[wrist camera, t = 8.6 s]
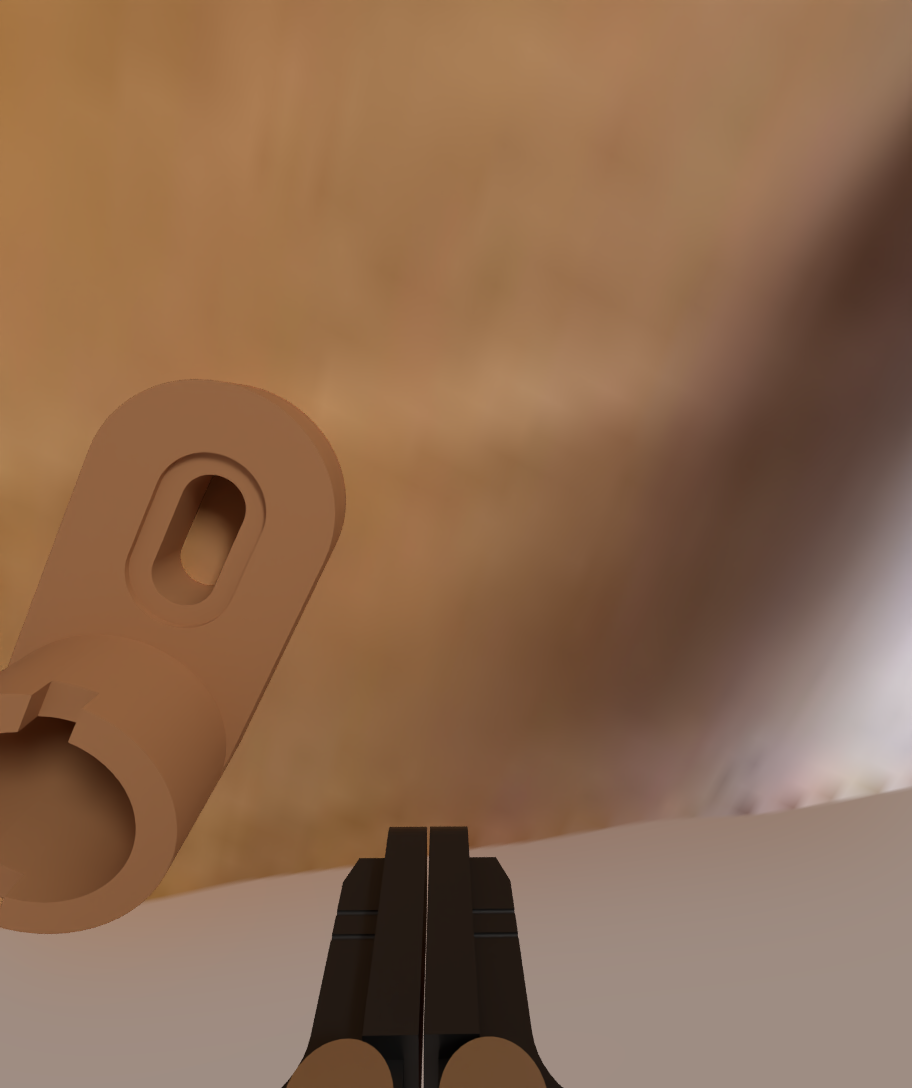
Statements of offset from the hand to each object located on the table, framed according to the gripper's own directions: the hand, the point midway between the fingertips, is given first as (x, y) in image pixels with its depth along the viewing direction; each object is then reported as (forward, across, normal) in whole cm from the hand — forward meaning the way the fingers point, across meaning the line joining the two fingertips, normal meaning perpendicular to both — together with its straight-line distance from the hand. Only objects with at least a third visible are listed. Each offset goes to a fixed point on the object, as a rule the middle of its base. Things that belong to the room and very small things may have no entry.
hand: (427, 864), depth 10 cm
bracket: (+12, +10, -1) cm, 16 cm away
